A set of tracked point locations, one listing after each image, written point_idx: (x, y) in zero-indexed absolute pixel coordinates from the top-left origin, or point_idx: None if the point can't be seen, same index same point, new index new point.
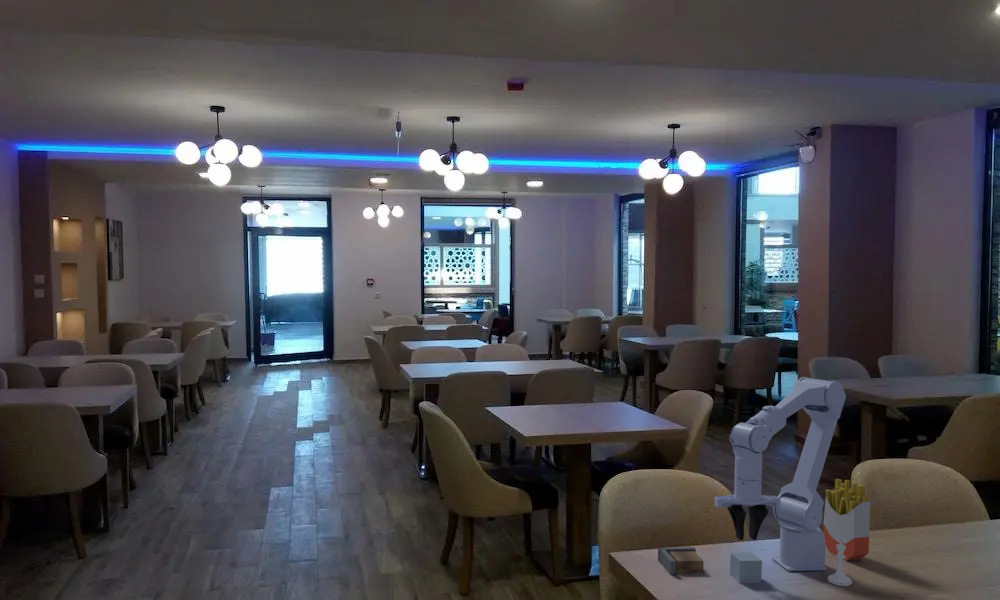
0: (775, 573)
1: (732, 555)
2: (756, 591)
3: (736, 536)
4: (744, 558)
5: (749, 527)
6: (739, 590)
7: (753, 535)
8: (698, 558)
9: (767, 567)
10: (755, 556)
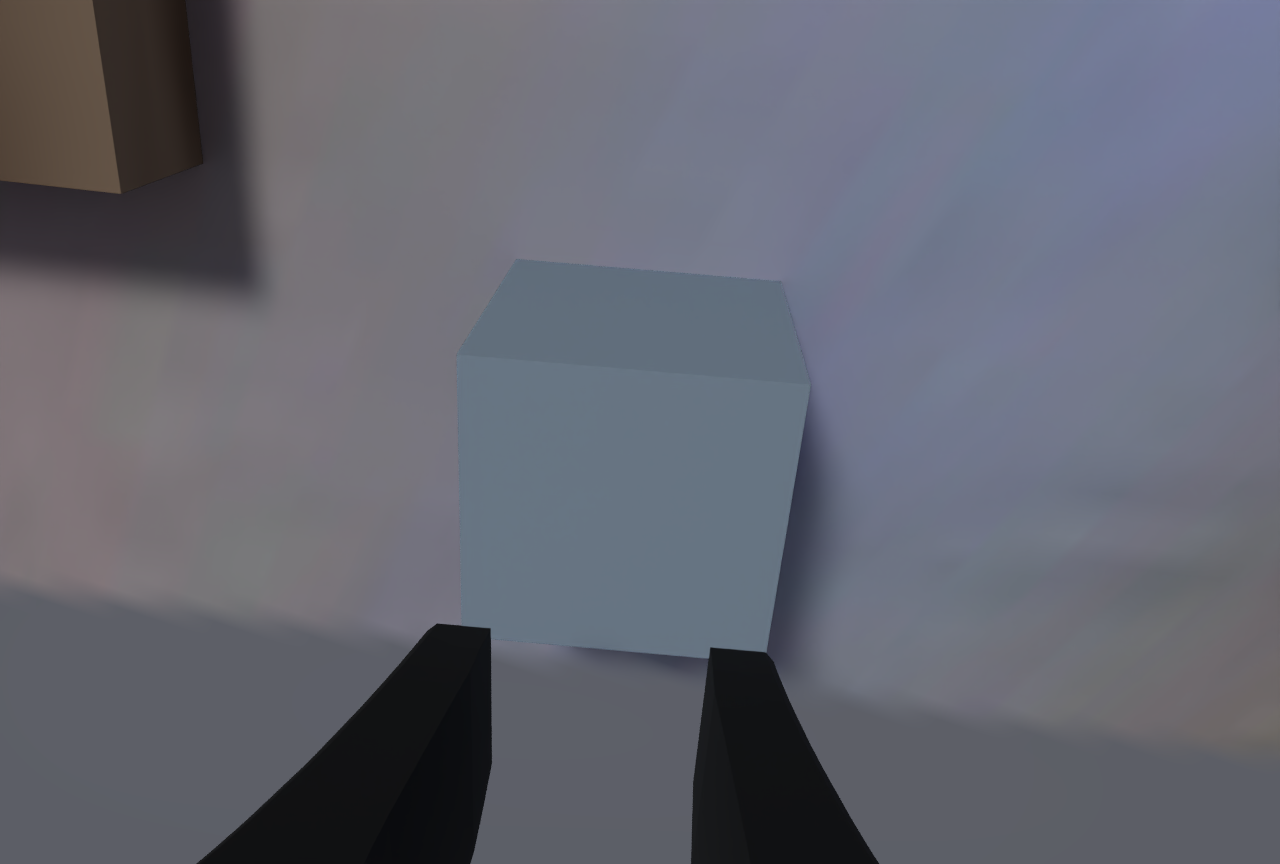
0: (1086, 308)
1: (461, 413)
2: (589, 663)
3: (421, 640)
4: (564, 576)
5: (729, 761)
6: None
7: (692, 847)
8: (65, 90)
9: (1136, 104)
10: (765, 534)
